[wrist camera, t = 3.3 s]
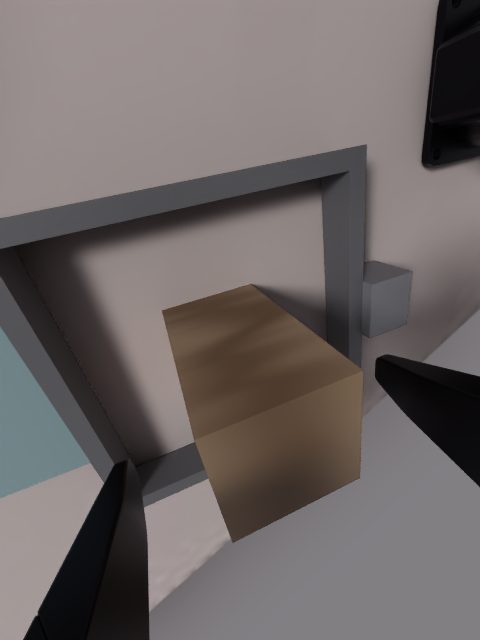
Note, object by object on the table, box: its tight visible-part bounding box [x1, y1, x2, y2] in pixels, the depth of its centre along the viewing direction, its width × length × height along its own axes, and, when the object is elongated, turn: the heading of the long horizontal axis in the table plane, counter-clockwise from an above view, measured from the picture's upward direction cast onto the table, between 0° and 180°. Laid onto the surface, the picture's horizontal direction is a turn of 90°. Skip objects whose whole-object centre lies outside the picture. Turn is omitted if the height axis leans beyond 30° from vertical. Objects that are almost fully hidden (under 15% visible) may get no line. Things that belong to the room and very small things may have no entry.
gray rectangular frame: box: [0, 144, 412, 507], centre depth 14 cm, size 17×15×3 cm
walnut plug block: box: [162, 284, 363, 543], centre depth 11 cm, size 4×4×8 cm
